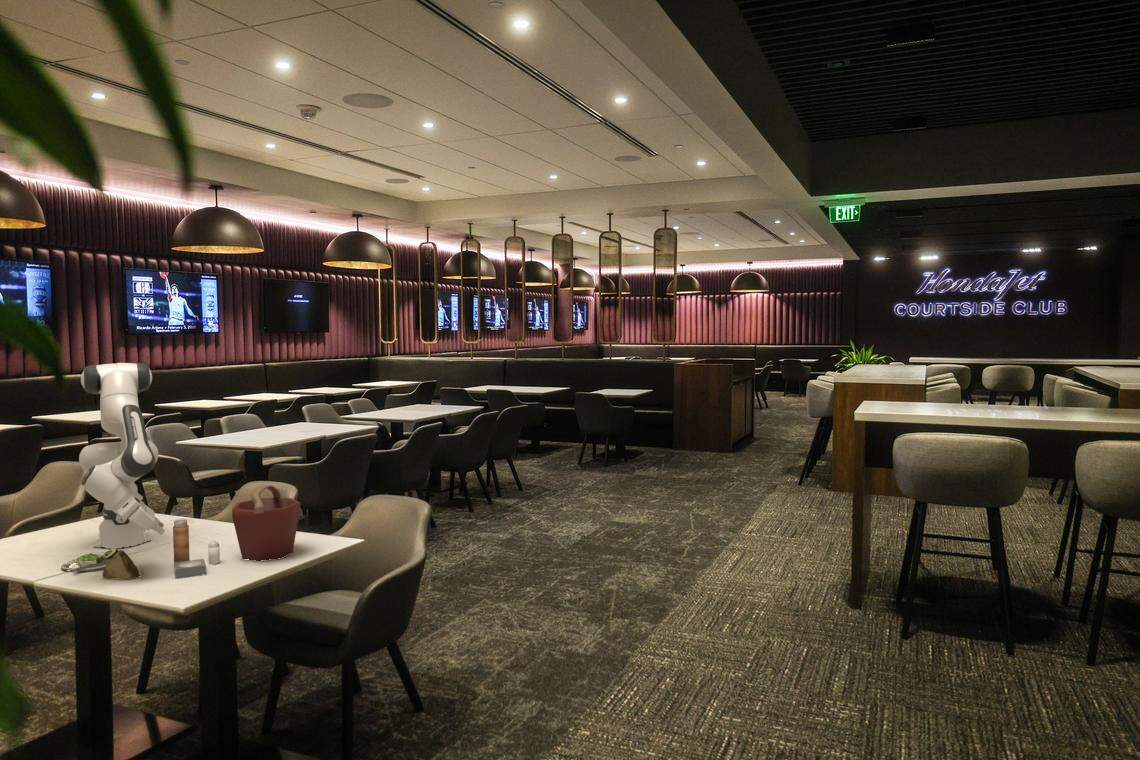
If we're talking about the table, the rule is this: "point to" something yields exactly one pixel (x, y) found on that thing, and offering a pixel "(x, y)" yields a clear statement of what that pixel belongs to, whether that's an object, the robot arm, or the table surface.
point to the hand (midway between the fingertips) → (163, 529)
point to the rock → (121, 567)
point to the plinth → (189, 568)
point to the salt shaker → (213, 552)
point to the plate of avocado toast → (91, 561)
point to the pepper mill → (181, 540)
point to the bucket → (266, 525)
